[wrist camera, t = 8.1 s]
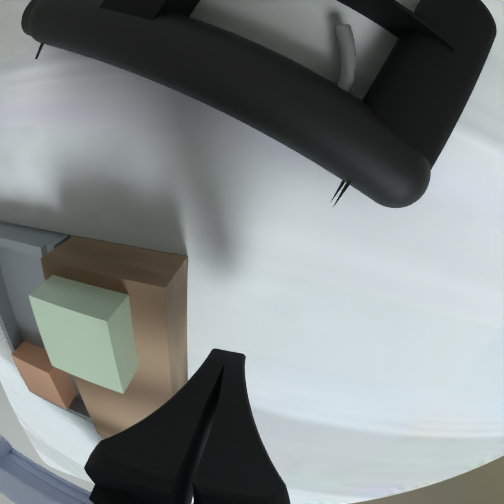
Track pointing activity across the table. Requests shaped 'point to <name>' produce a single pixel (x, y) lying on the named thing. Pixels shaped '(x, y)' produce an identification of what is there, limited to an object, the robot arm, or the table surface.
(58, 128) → the table surface
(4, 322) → the charcoal tray
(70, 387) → the terracotta block
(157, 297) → the walnut ledge
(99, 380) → the sage tile
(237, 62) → the door handle
